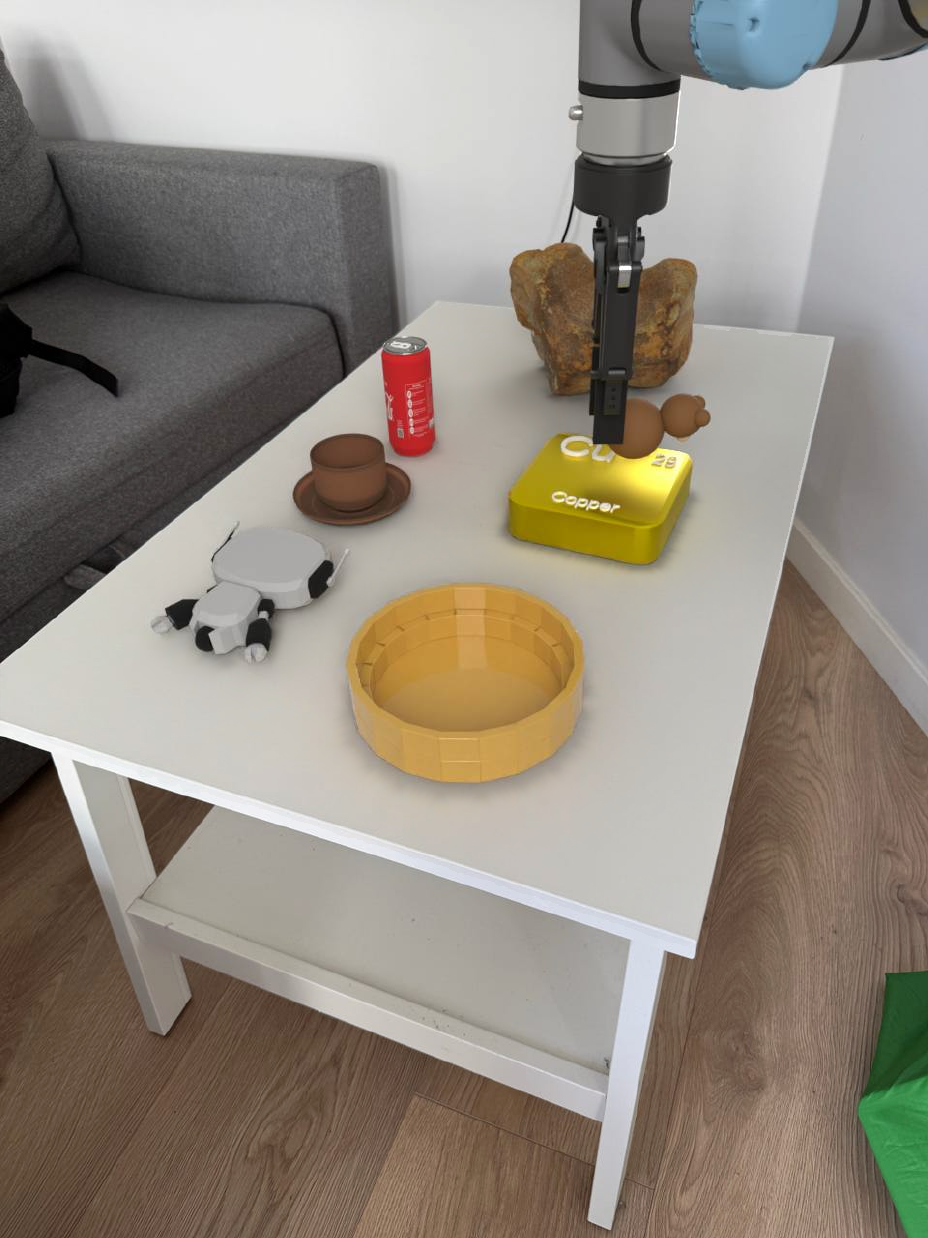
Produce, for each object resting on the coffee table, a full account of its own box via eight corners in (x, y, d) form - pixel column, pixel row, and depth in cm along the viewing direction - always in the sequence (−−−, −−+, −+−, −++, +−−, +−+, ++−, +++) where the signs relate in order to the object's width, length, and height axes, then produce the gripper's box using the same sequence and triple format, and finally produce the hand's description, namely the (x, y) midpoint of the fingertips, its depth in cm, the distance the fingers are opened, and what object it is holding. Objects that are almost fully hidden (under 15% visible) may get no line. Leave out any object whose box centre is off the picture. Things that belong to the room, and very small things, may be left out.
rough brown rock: (484, 405, 112) (482, 287, 102) (515, 342, 124) (516, 230, 113) (675, 429, 107) (694, 307, 97) (689, 361, 119) (708, 245, 108)
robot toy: (270, 690, 74) (360, 577, 83) (257, 650, 71) (353, 538, 80) (150, 652, 78) (249, 549, 88) (133, 613, 75) (238, 510, 85)
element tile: (501, 537, 88) (501, 494, 85) (554, 465, 99) (555, 424, 96) (654, 570, 83) (659, 526, 80) (692, 490, 94) (698, 448, 91)
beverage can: (422, 462, 100) (415, 357, 93) (381, 453, 102) (371, 350, 95) (443, 441, 104) (438, 338, 96) (403, 433, 106) (395, 332, 98)
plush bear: (608, 447, 89) (707, 421, 87) (613, 476, 85) (717, 449, 83) (595, 397, 86) (697, 367, 84) (600, 424, 82) (708, 394, 80)
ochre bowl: (575, 630, 77) (577, 582, 74) (586, 790, 63) (590, 740, 60) (370, 629, 78) (364, 582, 75) (338, 787, 64) (329, 737, 61)
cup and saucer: (289, 484, 98) (280, 432, 94) (399, 467, 100) (395, 415, 96) (302, 545, 88) (292, 490, 85) (423, 524, 90) (419, 469, 87)
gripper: (570, 129, 78) (561, 386, 92) (580, 184, 64) (568, 477, 78) (659, 127, 77) (636, 385, 92) (689, 182, 63) (657, 476, 78)
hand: (605, 427), depth 85 cm, fingers closed on plush bear, 5 cm apart
